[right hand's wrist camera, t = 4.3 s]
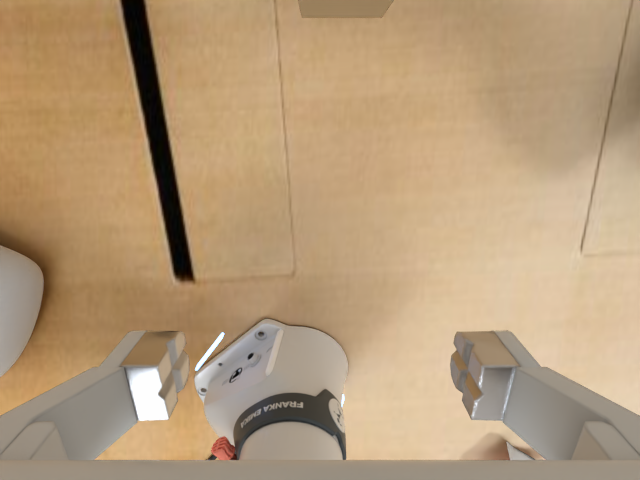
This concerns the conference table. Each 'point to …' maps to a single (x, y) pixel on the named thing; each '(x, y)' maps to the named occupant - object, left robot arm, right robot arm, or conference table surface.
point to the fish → (517, 453)
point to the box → (343, 8)
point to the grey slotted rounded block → (17, 304)
